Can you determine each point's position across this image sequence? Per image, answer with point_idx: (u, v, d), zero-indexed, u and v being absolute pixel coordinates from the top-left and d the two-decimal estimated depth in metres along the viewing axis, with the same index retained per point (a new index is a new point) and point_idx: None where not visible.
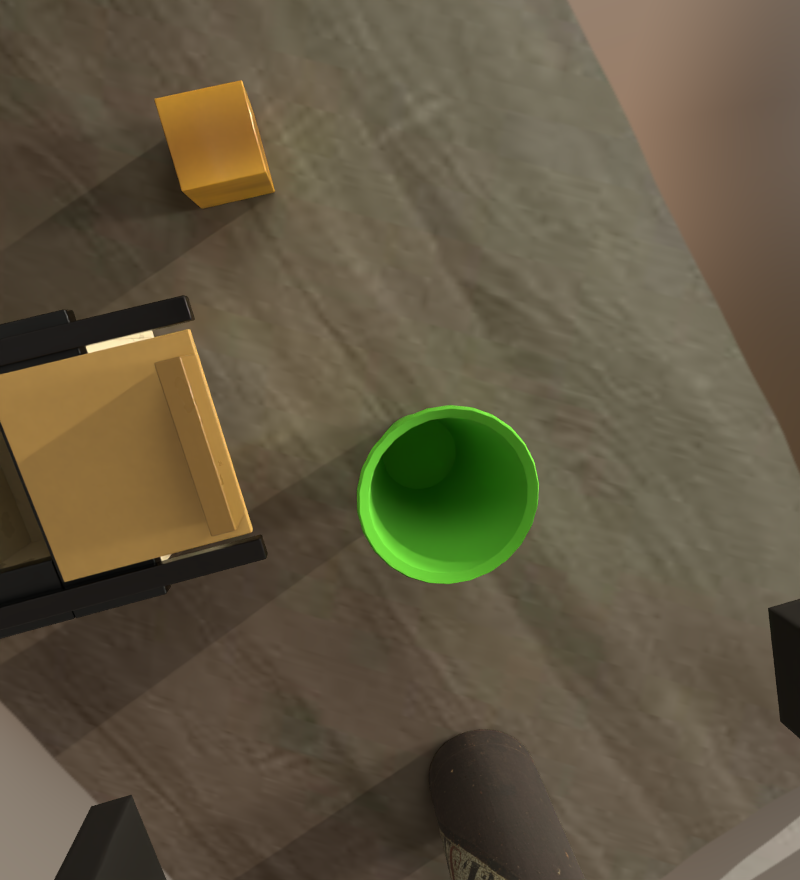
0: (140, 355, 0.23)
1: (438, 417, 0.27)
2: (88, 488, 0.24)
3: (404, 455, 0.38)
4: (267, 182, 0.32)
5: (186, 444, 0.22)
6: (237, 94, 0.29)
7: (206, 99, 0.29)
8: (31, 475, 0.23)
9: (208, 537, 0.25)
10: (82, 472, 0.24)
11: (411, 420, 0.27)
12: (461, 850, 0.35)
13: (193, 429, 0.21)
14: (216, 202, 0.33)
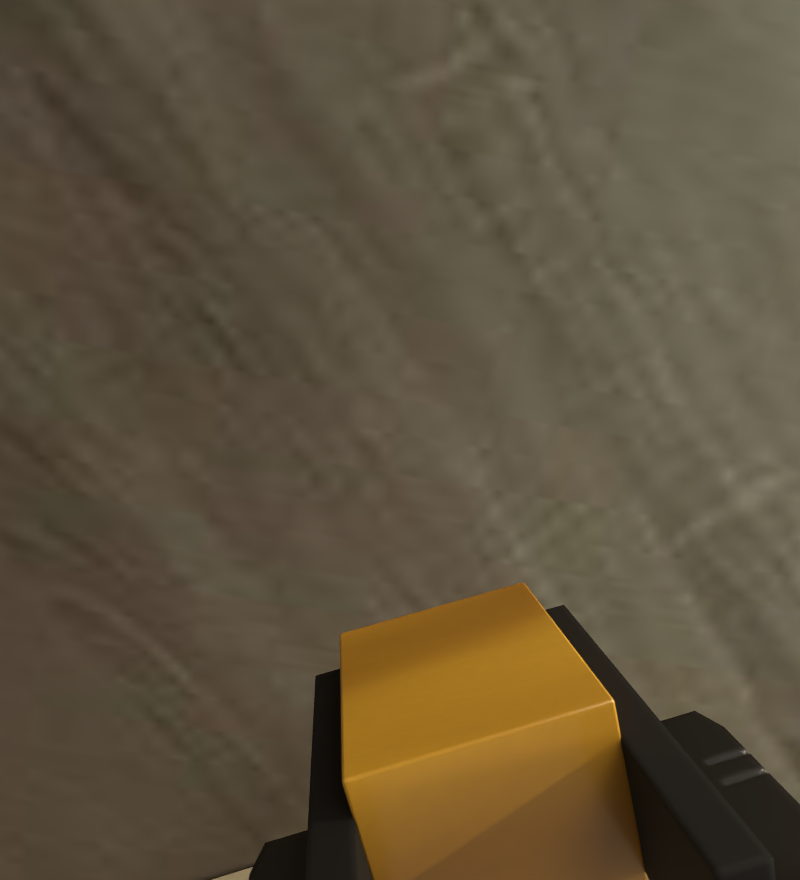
0: None
1: None
2: None
3: None
4: None
5: None
6: (599, 741, 0.09)
7: (504, 764, 0.09)
8: None
9: None
10: None
11: None
12: None
13: None
14: None
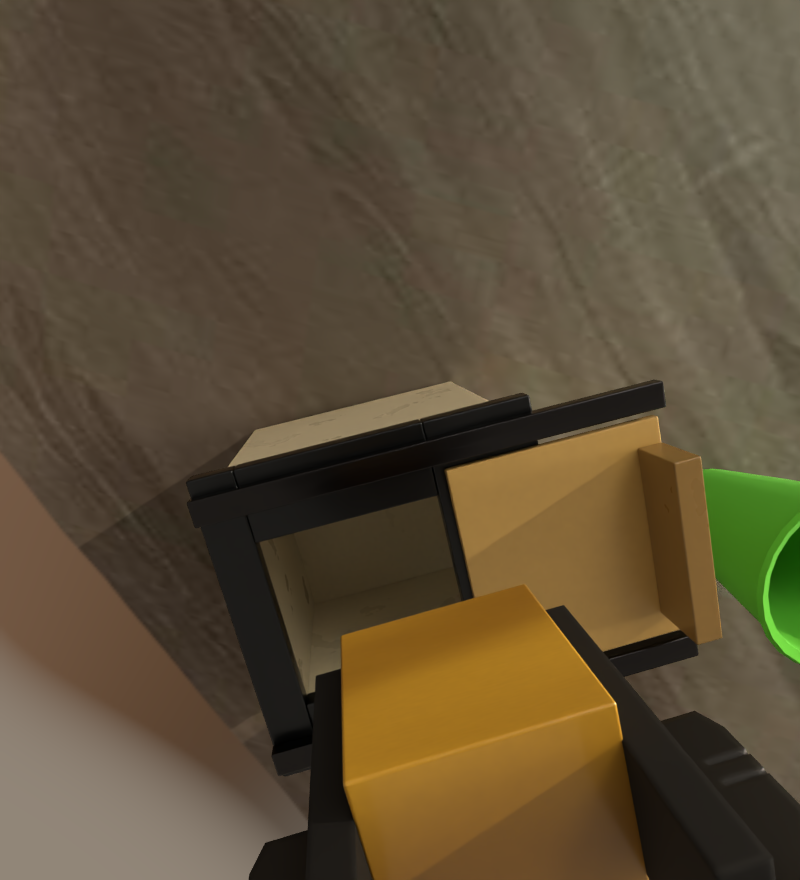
0: (606, 444, 0.21)
1: None
2: (532, 585, 0.22)
3: None
4: None
5: (691, 548, 0.20)
6: (600, 743, 0.09)
7: (505, 767, 0.09)
8: (479, 571, 0.22)
9: (642, 634, 0.23)
10: (529, 568, 0.22)
11: None
12: None
13: (700, 533, 0.20)
14: None
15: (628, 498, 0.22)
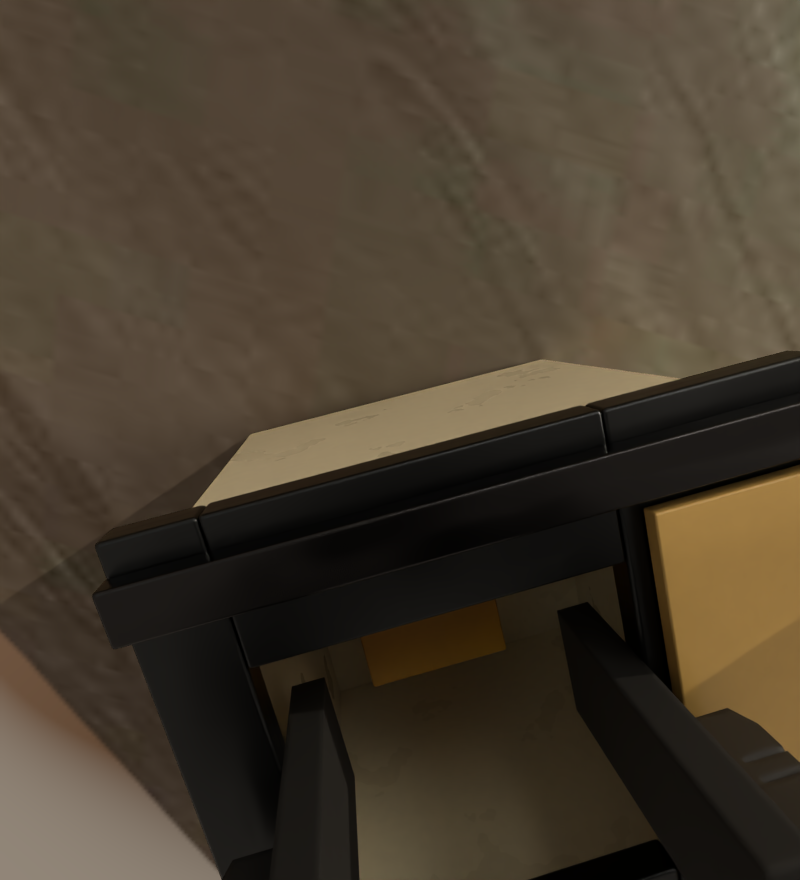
0: None
1: None
2: None
3: None
4: None
5: None
6: None
7: None
8: None
9: None
10: None
11: None
12: None
13: None
14: None
15: None
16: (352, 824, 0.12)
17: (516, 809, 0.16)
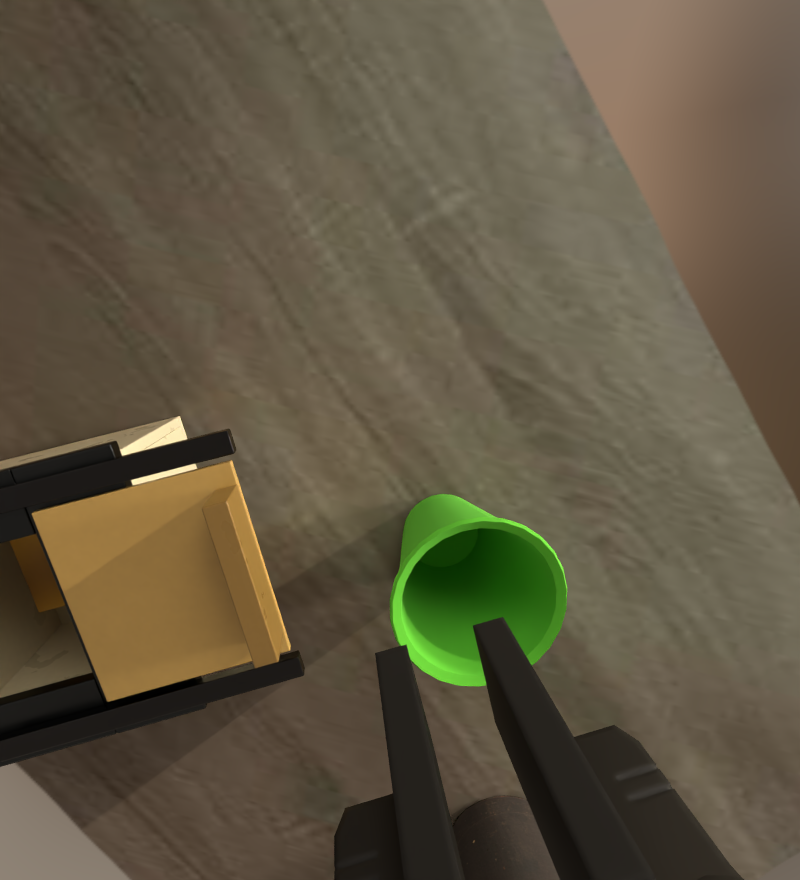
0: (183, 487, 0.24)
1: (470, 528, 0.28)
2: (131, 613, 0.24)
3: None
4: None
5: (231, 582, 0.22)
6: None
7: None
8: (77, 602, 0.24)
9: (247, 656, 0.25)
10: (126, 598, 0.24)
11: (443, 532, 0.27)
12: None
13: (238, 569, 0.22)
14: None
15: None
16: (441, 782, 0.12)
17: (89, 673, 0.29)
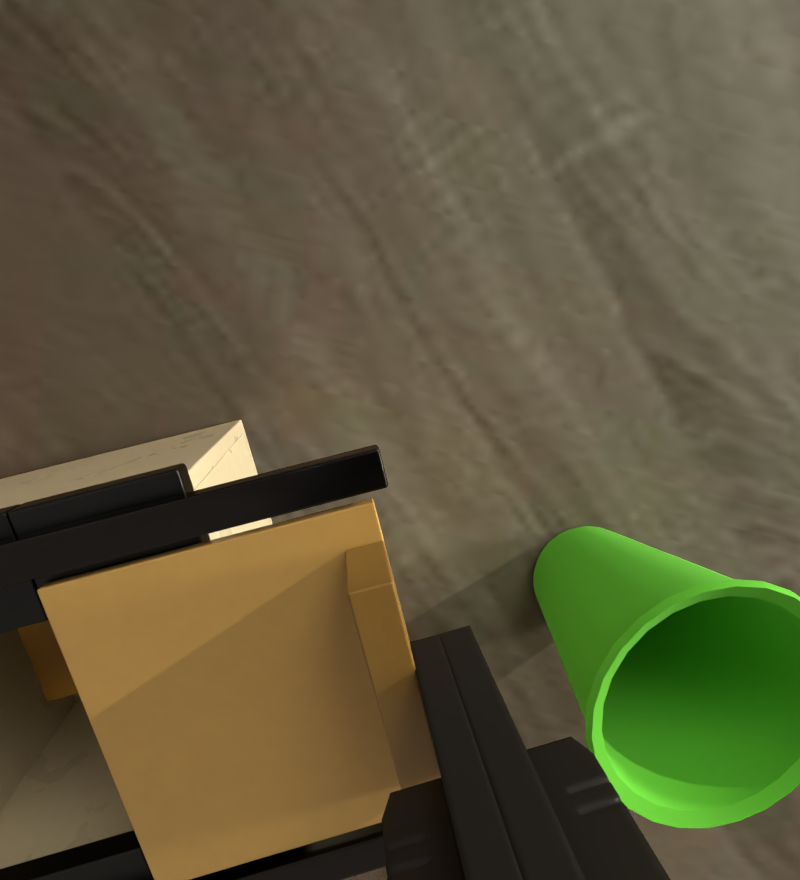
0: (295, 545, 0.14)
1: (713, 597, 0.18)
2: (201, 751, 0.15)
3: None
4: None
5: (392, 722, 0.12)
6: None
7: None
8: (111, 735, 0.14)
9: (383, 813, 0.16)
10: (193, 727, 0.15)
11: (677, 604, 0.18)
12: None
13: (406, 698, 0.12)
14: None
15: (339, 623, 0.14)
16: None
17: None
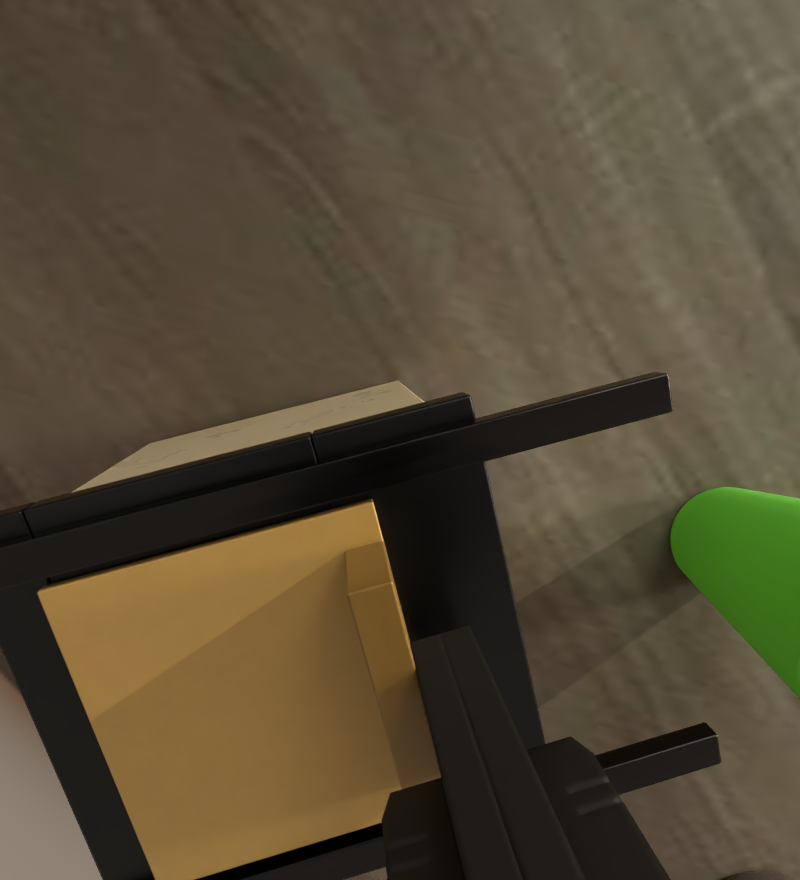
0: (295, 546, 0.14)
1: None
2: (201, 752, 0.15)
3: None
4: None
5: (393, 722, 0.12)
6: None
7: None
8: (112, 737, 0.14)
9: None
10: (194, 728, 0.15)
11: None
12: None
13: (406, 698, 0.12)
14: None
15: (339, 623, 0.14)
16: None
17: None
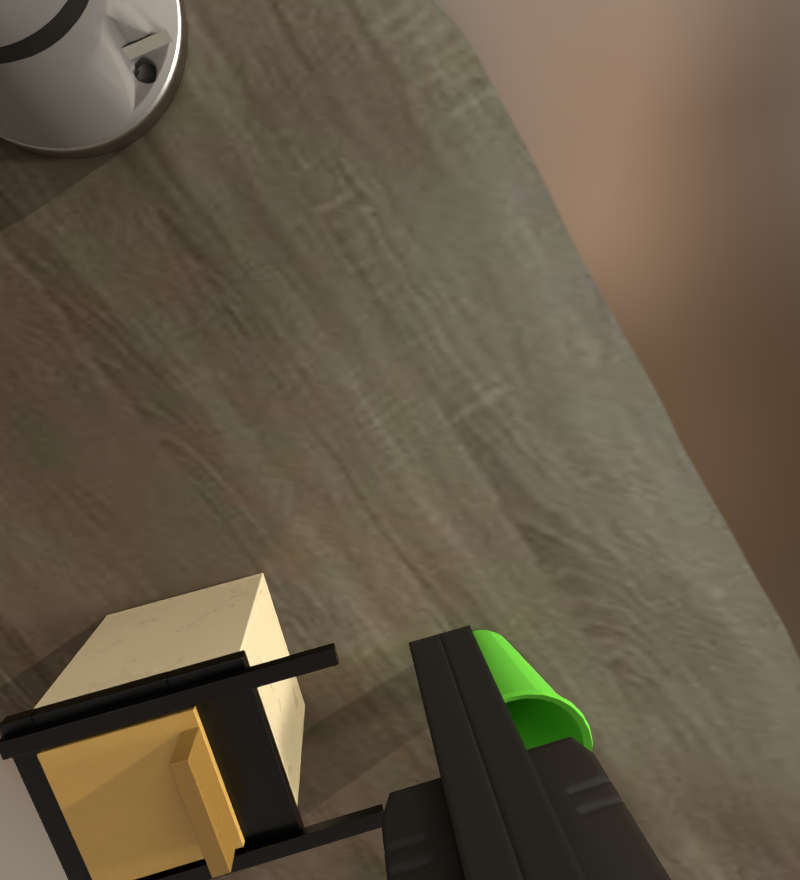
0: (157, 730, 0.30)
1: (515, 699, 0.34)
2: (116, 825, 0.31)
3: None
4: None
5: (193, 817, 0.28)
6: None
7: None
8: (72, 818, 0.30)
9: None
10: (111, 813, 0.30)
11: None
12: None
13: (198, 807, 0.28)
14: None
15: None
16: None
17: None
